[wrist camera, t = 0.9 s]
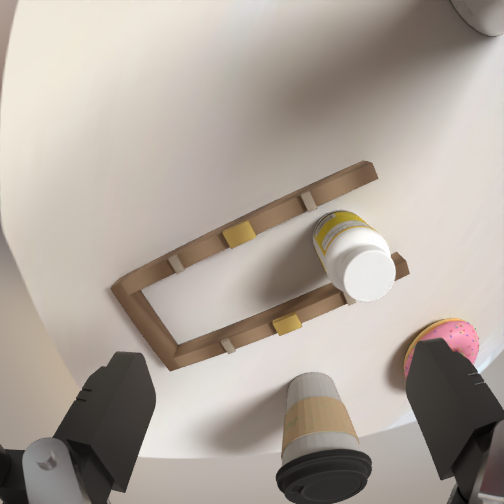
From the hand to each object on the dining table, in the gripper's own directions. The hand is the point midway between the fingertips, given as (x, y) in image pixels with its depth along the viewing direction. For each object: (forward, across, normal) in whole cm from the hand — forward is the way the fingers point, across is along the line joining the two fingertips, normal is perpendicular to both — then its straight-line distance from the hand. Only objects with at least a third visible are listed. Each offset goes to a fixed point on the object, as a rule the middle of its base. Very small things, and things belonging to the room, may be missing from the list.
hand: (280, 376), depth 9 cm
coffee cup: (+23, -4, +23) cm, 33 cm away
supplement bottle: (+23, -6, +3) cm, 24 cm away
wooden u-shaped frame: (+22, +1, +6) cm, 23 cm away
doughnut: (+23, -21, +19) cm, 36 cm away
